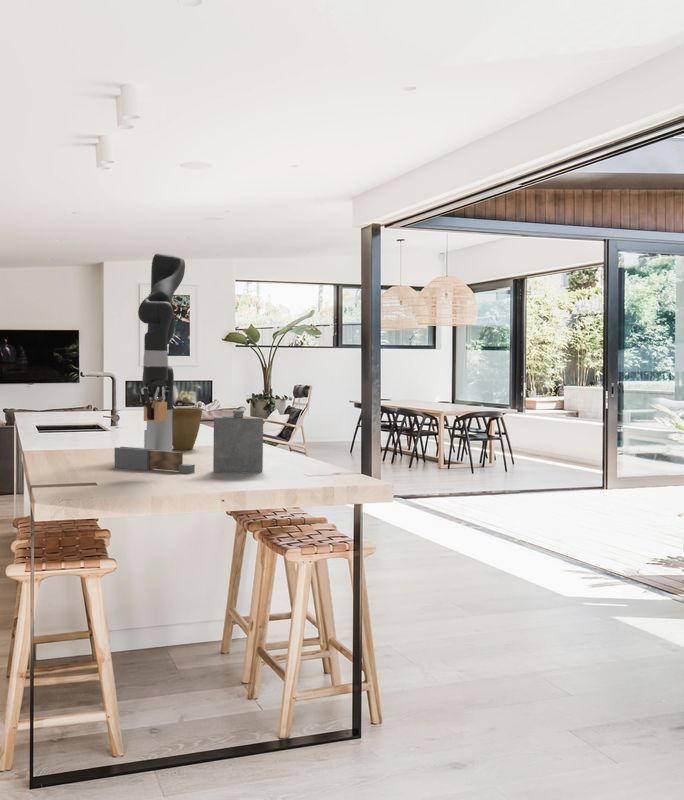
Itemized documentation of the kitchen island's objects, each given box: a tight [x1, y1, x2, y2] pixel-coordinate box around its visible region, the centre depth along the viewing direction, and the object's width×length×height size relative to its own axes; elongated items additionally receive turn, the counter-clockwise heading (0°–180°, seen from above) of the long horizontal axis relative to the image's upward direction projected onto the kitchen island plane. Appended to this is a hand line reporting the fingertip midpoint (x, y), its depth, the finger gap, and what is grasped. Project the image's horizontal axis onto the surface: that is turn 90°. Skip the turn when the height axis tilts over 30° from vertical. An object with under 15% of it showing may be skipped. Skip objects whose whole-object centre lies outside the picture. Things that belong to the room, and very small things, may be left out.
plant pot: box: [172, 407, 203, 451], centre depth 338 cm, size 15×15×16 cm
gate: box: [149, 450, 184, 472], centre depth 278 cm, size 14×1×6 cm, turn 66°
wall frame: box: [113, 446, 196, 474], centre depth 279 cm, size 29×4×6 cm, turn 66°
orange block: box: [143, 401, 167, 422], centre depth 270 cm, size 6×4×6 cm, turn 65°
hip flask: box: [212, 409, 264, 473], centre depth 278 cm, size 16×4×20 cm, turn 94°
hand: (155, 419), depth 271 cm, fingers closed on orange block, 4 cm apart
